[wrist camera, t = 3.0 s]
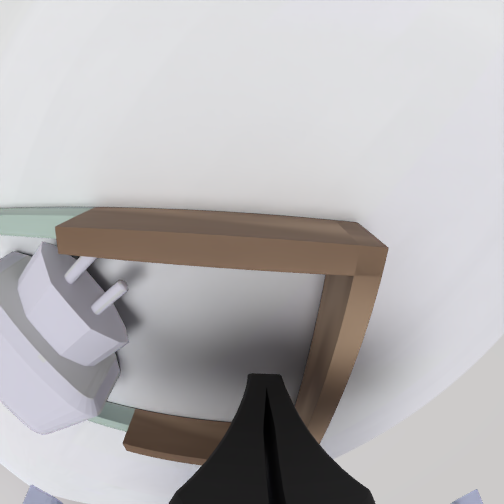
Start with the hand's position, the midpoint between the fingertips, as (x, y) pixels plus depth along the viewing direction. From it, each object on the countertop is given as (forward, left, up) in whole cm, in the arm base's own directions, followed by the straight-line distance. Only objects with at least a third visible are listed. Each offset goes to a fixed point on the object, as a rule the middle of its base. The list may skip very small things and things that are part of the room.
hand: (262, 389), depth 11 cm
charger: (0, +12, -3) cm, 12 cm away
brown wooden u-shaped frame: (0, +2, -2) cm, 3 cm away
